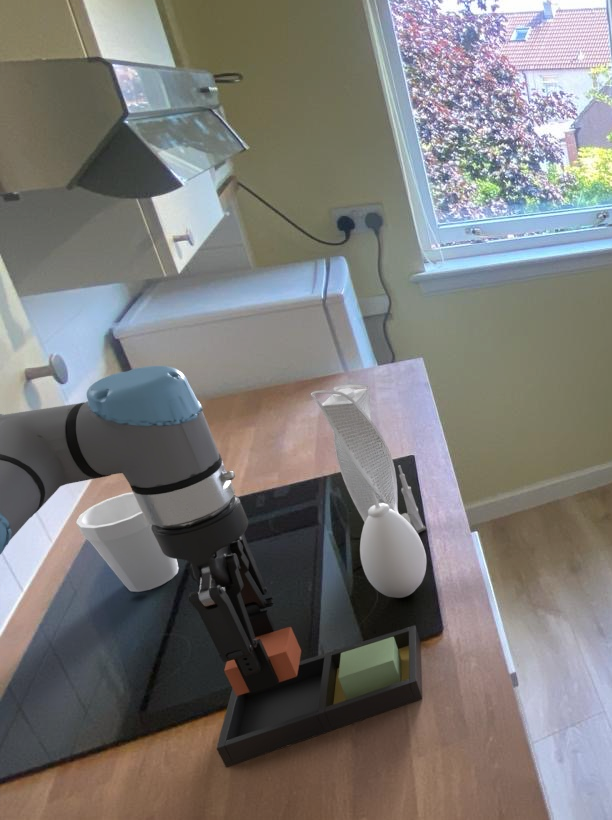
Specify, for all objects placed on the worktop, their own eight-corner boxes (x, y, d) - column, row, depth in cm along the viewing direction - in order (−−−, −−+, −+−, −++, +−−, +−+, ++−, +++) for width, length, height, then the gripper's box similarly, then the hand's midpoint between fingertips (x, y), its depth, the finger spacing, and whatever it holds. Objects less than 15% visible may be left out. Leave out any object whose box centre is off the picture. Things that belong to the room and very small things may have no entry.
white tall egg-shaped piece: (363, 606, 107) (326, 503, 99) (403, 571, 114) (371, 473, 106) (407, 615, 105) (373, 511, 97) (445, 579, 112) (416, 480, 104)
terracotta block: (236, 696, 84) (223, 670, 82) (243, 669, 88) (231, 644, 86) (297, 676, 86) (286, 651, 85) (301, 650, 90) (290, 626, 88)
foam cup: (200, 553, 119) (170, 485, 114) (177, 589, 111) (142, 519, 106) (130, 566, 116) (95, 498, 111) (101, 605, 108) (62, 533, 103)
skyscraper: (375, 555, 117) (323, 399, 106) (352, 537, 122) (300, 386, 110) (426, 528, 123) (382, 379, 112) (402, 512, 128) (358, 367, 116)
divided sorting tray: (225, 767, 83) (215, 748, 82) (242, 699, 92) (233, 681, 91) (422, 698, 91) (416, 680, 90) (420, 642, 100) (415, 625, 99)
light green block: (347, 701, 90) (338, 678, 89) (349, 676, 94) (340, 652, 92) (401, 683, 93) (393, 660, 91) (401, 659, 96) (393, 636, 95)
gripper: (220, 544, 71) (296, 714, 81) (251, 460, 86) (312, 613, 95) (123, 568, 68) (214, 742, 78) (172, 478, 83) (243, 634, 92)
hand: (268, 671), depth 87 cm, fingers closed on terracotta block, 4 cm apart
